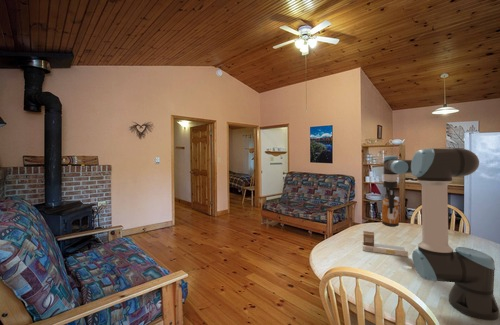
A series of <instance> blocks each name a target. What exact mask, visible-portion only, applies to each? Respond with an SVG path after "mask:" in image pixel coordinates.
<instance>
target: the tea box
mask: <svg viewBox="0 0 500 325" xmlns="http://www.w3.org/2000/svg"><path fill="white" fill-rule="evenodd" d="M362 236H363V237H362V238H363V241H362V242H363V243H362V246H363V245H366V246H374V244H375V232H374V231H367V230H364V231H363V234H362Z"/></svg>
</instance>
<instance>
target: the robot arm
mask: <svg viewBox="0 0 500 325" xmlns="http://www.w3.org/2000/svg"><path fill="white" fill-rule="evenodd" d="M479 167H480V159H479V157H478V155H477V154H476V153H474V152H473V151H471V150H470V149H466V148H461V147H460V148H459V147H458V148H456V147H455V148H423V149H419V150H417V151H416V152H415V153H414V155H413V156H412V158H411V159H399V157H398V156H397V155H385V156H383V173H382V174H383V175H382V176H383V188H386V192H385V193H387V195H386V194H385V195H386V197H388V198H387V199H388V200H389V207H387V208H388V219H394V199H395V198H394V196H395V190H394V189H396V188H398V178H399V175H402V174H411V175H412V176H413V177H415V178H416V181H417V182H418V183H419V184H420V185H421V227H422V228H421V229H422V230H421V231H422V235H421V236H422V241H420V242H419V243H417V244H418V245H417V247H418V248H417V249H414V250H412V253H411V255H412V256H411V257H412V263H413V266H414V268H415V270H416V272H417V274H418V275H419V277H420V278H421V279H423V280H425V281H432V282H435V283H436V282H445V283H446V282H447V283H454V284H453V285H452V287H451V289H450V292H449V294H448V302H449V305H451V307H453V308H454V309H456V310H457V311H459V312H460V313H463V314H465V315H467V316H470V317H473V318H476V319H480V320H485V321H486V320H487V321H492V320H493V321H495V320H497V319H499V317H500V308H499V306H498V303H497V301H496V297H495V296H494V295H495V294H494V287H495V270H496V265H495V260H494V259H493V257H492V256H491V255H489V254H487V253H485V252H483V251H480V250H477V249H474V248H471V247H465V246H456V247H455V249H453V247H451V246H450V245H449V214H448V212H449V210H448V209H449V208H448V207H449V206H448V204H449V202H448V201H449V200H448V186H449V185H450V184H452V182H453V177H455V178H457V177H458V178H459V177H465V176H469V175H471V174H474V173H475V172H476V170H478V168H479ZM398 174H399V175H398ZM390 205H392V206H390Z"/></svg>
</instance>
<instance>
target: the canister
mask: <svg viewBox="0 0 500 325" xmlns="http://www.w3.org/2000/svg"><path fill="white" fill-rule="evenodd" d="M385 193H386V194H384V197H383V201H382V202H383V203H382V204H381V205H382V206H381V211H382V212H381V224H382V225H384V226H386V227H390V228H395V227H398V226H399V225H400V205H399V200H398V199H395V198H396V195H394V219H388V208H387V207H389V200H388V199H387V198H388V197H386V195H387V192H385ZM390 206H392V205H390Z"/></svg>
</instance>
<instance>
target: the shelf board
mask: <svg viewBox="0 0 500 325" xmlns="http://www.w3.org/2000/svg"><path fill="white" fill-rule="evenodd" d="M361 243H362V251H364V252H365V251H366V252H371V253H373V252H374V253H379V254H380V253H381V254H389V255H394V256H400V257H401V256H403V257H407V259H408V258H409V251H408V250H406V249H405V247H403V246H397V245H388V244H381V243H380V244H379V243H374V246H366V245H363V241H362V242H361Z"/></svg>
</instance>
